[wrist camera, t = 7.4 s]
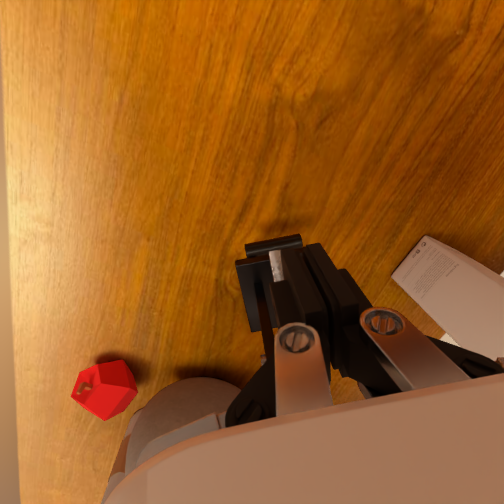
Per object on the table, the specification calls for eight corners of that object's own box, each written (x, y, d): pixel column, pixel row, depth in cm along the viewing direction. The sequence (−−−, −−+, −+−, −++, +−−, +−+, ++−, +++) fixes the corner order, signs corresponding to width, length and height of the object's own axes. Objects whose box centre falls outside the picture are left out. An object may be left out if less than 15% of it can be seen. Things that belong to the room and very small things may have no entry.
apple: (146, 421, 35) (95, 414, 29) (103, 426, 37) (46, 421, 31) (154, 363, 39) (111, 347, 33) (115, 371, 41) (67, 356, 35)
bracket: (235, 260, 31) (241, 341, 21) (306, 246, 31) (347, 321, 21) (250, 325, 36) (261, 417, 26) (311, 314, 36) (347, 401, 26)
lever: (244, 244, 26) (243, 243, 24) (297, 234, 26) (301, 232, 24) (269, 372, 26) (271, 384, 24) (322, 362, 26) (329, 372, 24)
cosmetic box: (388, 275, 34) (498, 393, 21) (426, 229, 31) (581, 331, 18) (436, 296, 37) (562, 415, 23) (475, 256, 34) (643, 363, 20)
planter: (280, 378, 42) (318, 561, 25) (259, 406, 45) (281, 586, 28) (157, 348, 36) (104, 553, 20) (141, 382, 39) (84, 586, 23)
